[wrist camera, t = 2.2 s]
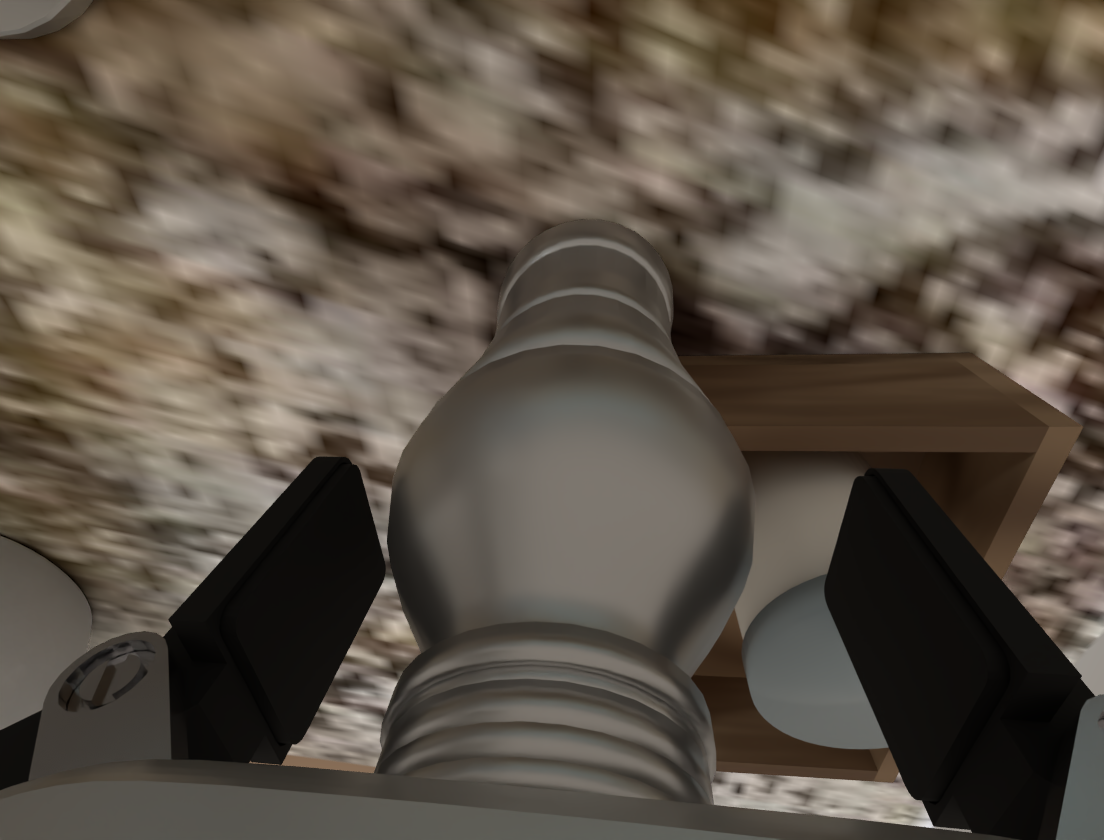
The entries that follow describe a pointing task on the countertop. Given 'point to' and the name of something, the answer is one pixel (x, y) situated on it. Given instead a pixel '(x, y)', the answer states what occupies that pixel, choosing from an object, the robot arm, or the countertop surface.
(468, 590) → the grey metal bottle
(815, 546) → the jar
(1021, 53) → the countertop surface
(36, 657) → the pitcher
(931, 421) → the crate
